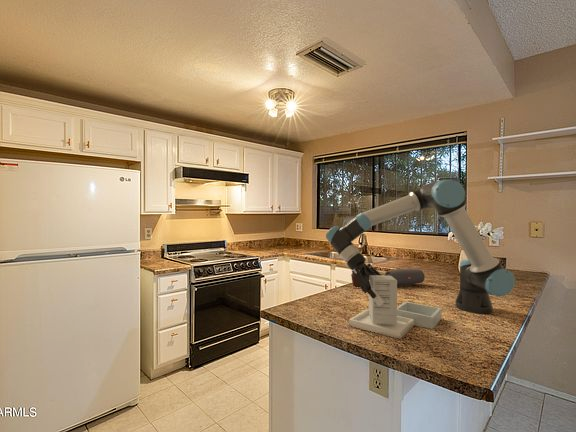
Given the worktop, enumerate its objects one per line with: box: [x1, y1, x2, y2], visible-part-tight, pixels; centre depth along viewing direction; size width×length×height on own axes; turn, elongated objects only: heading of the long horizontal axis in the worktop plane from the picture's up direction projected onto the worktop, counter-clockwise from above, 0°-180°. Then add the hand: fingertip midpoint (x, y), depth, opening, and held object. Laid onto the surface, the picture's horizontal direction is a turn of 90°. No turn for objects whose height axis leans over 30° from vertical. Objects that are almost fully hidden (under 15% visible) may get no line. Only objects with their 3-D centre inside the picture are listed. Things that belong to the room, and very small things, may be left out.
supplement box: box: [368, 274, 398, 324], centre depth 121 cm, size 10×9×17 cm
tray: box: [348, 308, 415, 340], centre depth 121 cm, size 20×17×2 cm
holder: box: [397, 301, 443, 330], centre depth 129 cm, size 15×15×4 cm
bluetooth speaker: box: [384, 268, 425, 287], centre depth 189 cm, size 23×9×10 cm, turn 105°
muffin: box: [350, 272, 369, 288], centre depth 186 cm, size 12×11×10 cm
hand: (388, 300), depth 119 cm, fingers closed on supplement box, 12 cm apart
